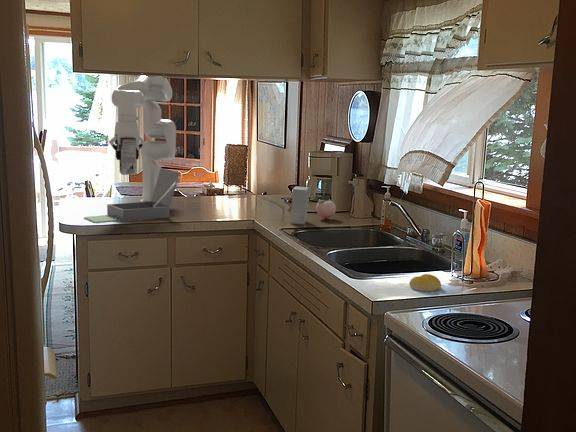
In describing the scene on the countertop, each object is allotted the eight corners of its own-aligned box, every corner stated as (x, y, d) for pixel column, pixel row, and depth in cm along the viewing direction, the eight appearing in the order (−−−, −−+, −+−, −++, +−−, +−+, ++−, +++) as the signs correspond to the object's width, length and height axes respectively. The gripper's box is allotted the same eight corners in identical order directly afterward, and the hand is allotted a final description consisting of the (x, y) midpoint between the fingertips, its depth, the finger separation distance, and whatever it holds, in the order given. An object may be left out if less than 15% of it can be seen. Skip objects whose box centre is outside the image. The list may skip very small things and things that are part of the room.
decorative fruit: (324, 221, 287) (324, 199, 285) (312, 218, 294) (313, 197, 292) (339, 220, 292) (340, 198, 291) (328, 217, 299) (329, 196, 297)
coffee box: (119, 172, 285) (118, 136, 282) (133, 172, 287) (133, 136, 284) (121, 174, 276) (121, 137, 274) (136, 174, 279) (136, 137, 276)
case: (107, 215, 288) (106, 170, 285) (162, 210, 305) (162, 168, 301) (124, 222, 273) (123, 175, 270) (181, 216, 290) (181, 172, 286)
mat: (84, 218, 280) (84, 216, 279) (106, 216, 286) (106, 215, 285) (95, 223, 269) (95, 221, 269) (117, 221, 275) (117, 219, 275)
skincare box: (292, 220, 288) (293, 185, 285) (308, 221, 287) (309, 186, 284) (289, 223, 280) (290, 188, 277) (305, 224, 279) (306, 189, 276)
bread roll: (403, 287, 187) (404, 274, 186) (424, 283, 192) (425, 270, 191) (425, 294, 180) (426, 281, 179) (446, 289, 185) (447, 276, 185)
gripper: (141, 119, 286) (141, 158, 289) (104, 118, 275) (105, 159, 278) (148, 119, 280) (149, 159, 283) (111, 119, 269) (112, 160, 272)
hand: (127, 159), depth 281 cm, fingers closed on coffee box, 7 cm apart
